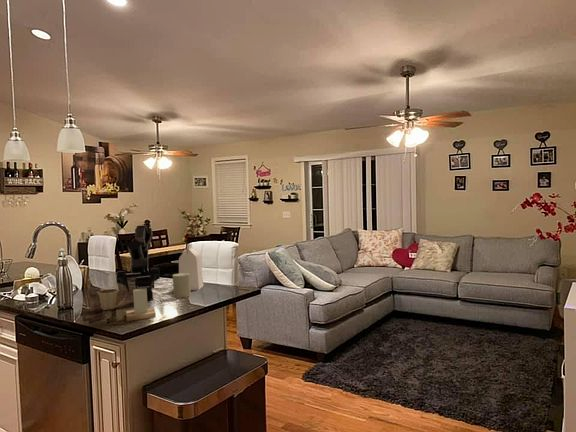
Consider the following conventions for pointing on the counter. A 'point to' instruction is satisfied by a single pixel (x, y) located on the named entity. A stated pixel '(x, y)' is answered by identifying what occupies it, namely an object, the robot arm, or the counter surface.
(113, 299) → the flower pot
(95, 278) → the counter surface
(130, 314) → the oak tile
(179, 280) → the olive grey block
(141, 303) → the canister
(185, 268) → the milk
